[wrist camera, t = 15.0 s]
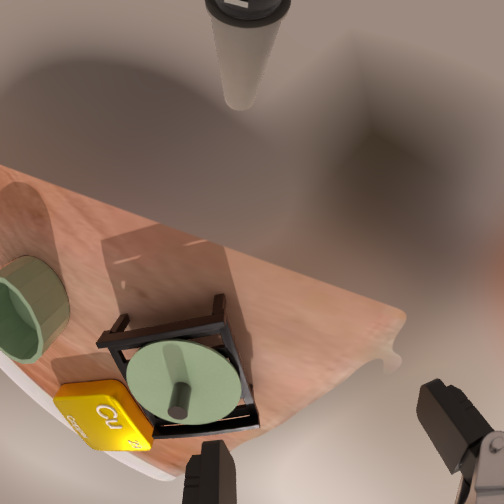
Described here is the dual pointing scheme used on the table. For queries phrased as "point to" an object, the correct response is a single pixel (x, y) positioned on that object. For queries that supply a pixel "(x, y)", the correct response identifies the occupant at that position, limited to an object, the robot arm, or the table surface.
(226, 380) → the lid
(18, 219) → the table surface
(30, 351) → the pot
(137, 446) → the element tile
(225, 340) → the rack
